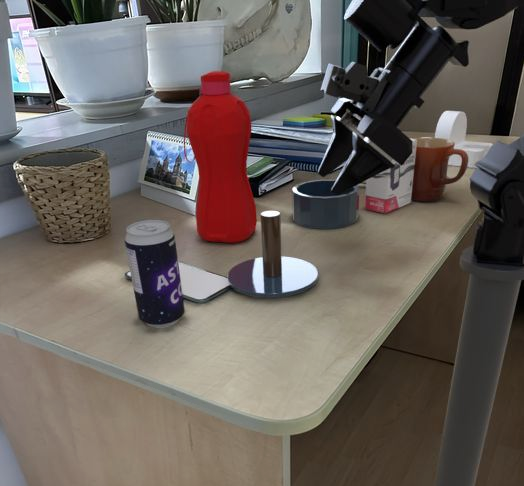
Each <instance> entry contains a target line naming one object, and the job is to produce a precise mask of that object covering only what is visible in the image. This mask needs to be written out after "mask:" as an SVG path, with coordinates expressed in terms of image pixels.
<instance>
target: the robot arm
mask: <svg viewBox="0 0 524 486" xmlns="http://www.w3.org/2000/svg"><path fill="white" fill-rule="evenodd" d="M522 6H524V0H351V2H350V4H349V5H348V7H347V9H346V11H345V13H344V17H343V19H344V21H346V22H347V23H348V24H349V25H350V26H351V27H352V28H353V29H354V30H356V32H357V33H359V34H360V35H361V36H362V37H363V38H364V39H366V41H367V42H369V44H371V45H372V46H373V47H374V48H375V49H376V50H377V51H378V52H383V51H385V50H386V49H387V48H389V49H391V50H395V49H397V48H398V47H399V48H398V49H397V50H396V52H395V53H394V54H393V55H392V57H391V58H390V60H389V61H388V62H387V64H386V65H385V66H384V67H378V68H375V69H373V72H372V73H371V74H370V76H369V75H368V66H367V65H364V64H361V63H358V62H355V61H351V62H349V64H348V65H347V67H346V68H343V67H341V66H338V65H336V64H332V63H328V65H327V68H326V71H325V75H324V77H323V81H322V84H321V87H320V91H321V92H324V94H325V95H327V96H330V97H333V98H338V99H337V100H336V102H335V104H334V105H333V106H332V108H331V109H330V111H331V113H333V114H334V115H336V117H335V116H334V115H333V114H331V115H330V120H331V127H332V135H331V138H330V141H329V143H328V145H327V148H326V151H325V153H324V155H323V158H322V161H321V162H320V165H319V167H318V169H317V174H318V175H319V176H321V177H322V178H326V176H328V175H329V174H331V173H332V172H334V171H335V170H336V169H338V168H339V167H341V165H342V164H344V163H345V164H344V166H343V167H342V170H340V173H339V174H338V176H337V178H336V179H335V180H336V181H335V183H334V185H333V187H332V189H331V191H332V192H333V193H334V194H335V195H337V196H338V195H340V194H342V193H344V192H346V191H347V190H349V189H351V188H353V187H355V186H356V185H358V184H360V183H362V182H364V181H366V180H368V179H369V178H371V177H373V176H375V175H377V174H379V173H381V172H383V171H385V170H387V169H390V168H392V169H393V168H394V167H395V165H394V164H393V163H391V161H392V160H394V161H396V162H397V163H398V164H400V165H401V166H402V165H403V164H404V163H405V161H406V160H407V159H408V158H409V156H410V155H411V154H412V153H413V150H412V140H411V139H412V138H411V137H409V136H408V135H406V134H405V133H404V132H403V131H402V130H401V129H400V128H399V127H400V125H401V124H402V123H403V121H404V120H405V119H406V117H407V116H408V115H409V114H410V113H411V111H412V110H413V109H414V108H415V109H418V110H419V109H420V108H421V107H422V106H423V104H424V103H425V102H426V101H425V100H423V98H422V97H423V96H424V94H425V93H426V92H427V90H428V89H429V87H430V86H431V85H432V84H433V83H434V82H435V80H436V79H437V77H438V76H439V75H440V73H441V72H442V71H443V69H445V67H446V66H447V64H448V63H449V62H450V63H451V64H452V65H454V66H457V67H464V68H465V67H468V66H469V64H470V59H469V57H470V56H469V45H470V42H469V40H467V39H459V40H456V39H455V38H454V37H453V36H452V35H451V34H450V33H449V32H448V31H447V30H446V29H449V30H477V29H479V28H482V27H484V26H486V25H489V24H491V23H493V22H495V21H497V20H499V19H501V18H503V17H505V16H508V14H510V13H512V12H513V11H515V10H516V9H518V8H520V7H522ZM423 18H435V20H436V22H437V23H438V24H439V25H438V26H435V27H433V28H432V27H431V26H430V25H429V24H428V23H427V22H426V21H425V20H423ZM398 126H399V127H398ZM360 135H361V136H363V137H364V138H365V139H364V140H363V139H362V138H361V137H360ZM410 138H411V139H410ZM492 144H493V145H492V147H491V148H490V150H489V151H488V153H487V154H486V155H485V156H484V157H483V158H482V159H481V160H480V161H478V162H476V163H475V166H477V168H474V171H473V172H472V173H471V176H470V178H469V181H470V182H469V190H470V193H471V195H472V197H474V199H476V200H477V201H476V202H477V206H478V209H479V210H481V211H483V213H482V219H481V221H478V222H477V224H476V230H475V236H474V242H473V245H474V247H473V254H474V255H476V262H477V263H482V264H494V265H506V266H519V267H524V133H523V134H522V135H521V136H520V137H519V138H518V139H516V140H514V141H512V142H510V143H509V144H507V143H505V142H502V141H501V140H497V141H495V142H494V143H492Z"/></svg>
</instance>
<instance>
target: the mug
mask: <svg viewBox="0 0 524 486" xmlns="http://www.w3.org/2000/svg"><path fill="white" fill-rule="evenodd" d="M415 139H416V140H417V147H416V156H415V165H414V176H413V185H412V194H411V201H414V202H420V203H430V202H431V203H432V202H436V201H438V200H440V199H441V198H442V197H443V196H444V193H445V190H446V186H447V185H452V184H454V183H456V182H458V181H460V180H461V179H462V178H463V176H464V175H465V174H466V171H467V168H468V167H467V166H468V155H467V153H466V152H465V151H464V150H461V149H454V146H455V142H453V141H451V140H448V139H442V138H435V137H429V138H422V137H419V138H415ZM454 154H457V155H460V156H461V158H462V163H461V166H459V171H458V173H457V174H456V175H455V176H453V177H448V166H449V165H448V161H449V157H450V156H452V155H454Z"/></svg>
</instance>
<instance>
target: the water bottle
mask: <svg viewBox="0 0 524 486" xmlns="http://www.w3.org/2000/svg"><path fill="white" fill-rule="evenodd" d="M231 81H233V79H231V74H230V72H228V71H224V70H213V71H210V72H207V73H205V74H203V75H201V76H200V86H201V87H199V88H198V91H199V94H198V95H199V96H198V97H197V98H196V99H195V100H194V101H193V103H192V104H191V105H190V107H189V108H188V110H187V115H186V119H185V124H184V131H183V133H184V134H183V153H184V157H185V160H186V161H187V162H188V163H194V161H195V162H196V166H197V170H198V171H197V172H198V184H197V185H198V186H197V195H196V204H195V205H196V206H195V219H196V220H195V222H196V223H195V224H196V231H197V234H198V236H199V237H200V239H202V240H204V241H205V242H214V243H215V242H216V243H227V244H237V243H242V242H244V241H246V240H247V239H248V238H250V237H251V235H252V234H253V233H254V232H255V231H256V227H257V221H258V219H257V205H256V201H255V198H254V195H253V192H252V189H251V184H250V181H249V177H248V171H247V162H248V157H249V156H248V155H249V149H250V141H251V135H252V119H251V115H250V110H249V108H248V107H247V105H246V103H245V101H243V100H242V99H241V98H240V97H238V96H236V95H234V94H233V93H231V92H232V89H231ZM186 134H187V138H188V142H189V144H190V147H191V150H192V153H193V160H192V161H190V160H189V159H188V156H187V153H186Z"/></svg>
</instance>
